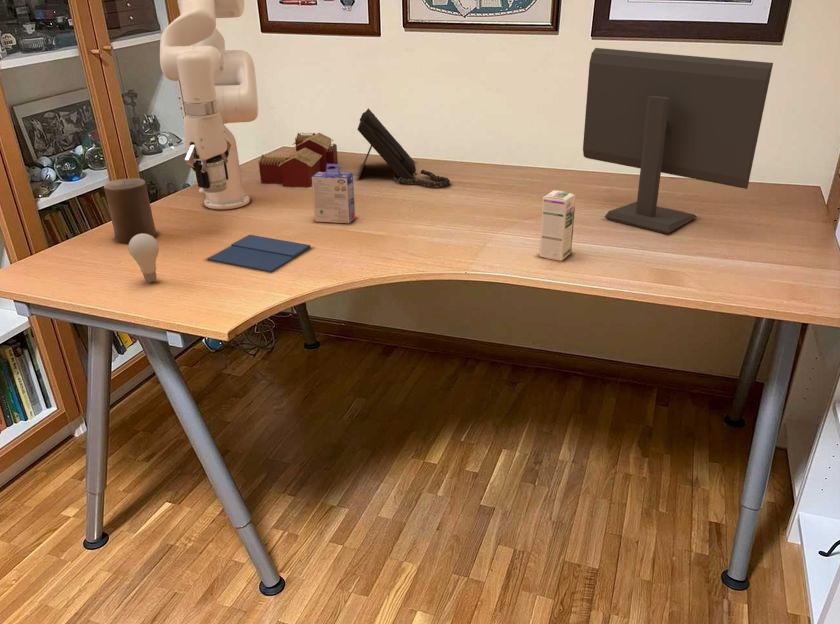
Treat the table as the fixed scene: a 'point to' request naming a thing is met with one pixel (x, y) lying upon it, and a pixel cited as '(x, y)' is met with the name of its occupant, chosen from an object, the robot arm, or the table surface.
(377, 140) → the office phone
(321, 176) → the ink cartridge box
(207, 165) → the camera lens
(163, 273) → the table surface
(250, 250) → the cloth
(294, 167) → the toy houses
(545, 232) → the syrup box
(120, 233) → the pillar candle
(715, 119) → the computer monitor
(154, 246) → the lightbulb
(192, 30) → the robot arm
